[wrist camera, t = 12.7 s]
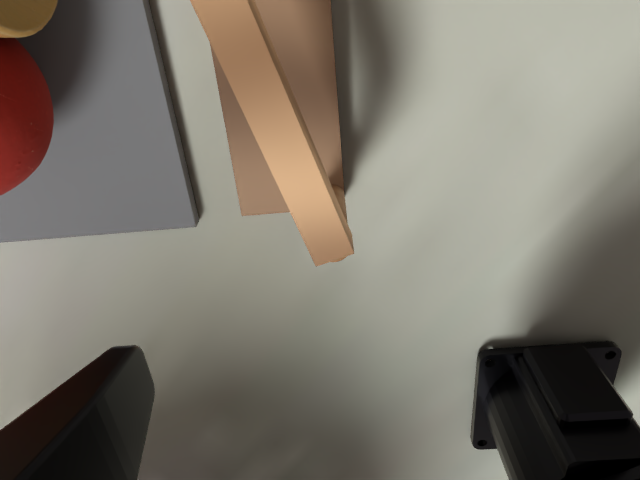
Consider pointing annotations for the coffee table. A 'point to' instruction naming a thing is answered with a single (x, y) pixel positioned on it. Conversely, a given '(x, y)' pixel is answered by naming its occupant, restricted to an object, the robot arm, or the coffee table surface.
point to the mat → (102, 130)
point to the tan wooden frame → (282, 113)
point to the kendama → (22, 93)
